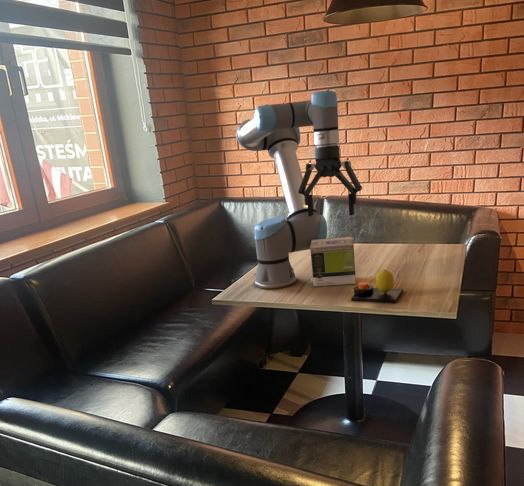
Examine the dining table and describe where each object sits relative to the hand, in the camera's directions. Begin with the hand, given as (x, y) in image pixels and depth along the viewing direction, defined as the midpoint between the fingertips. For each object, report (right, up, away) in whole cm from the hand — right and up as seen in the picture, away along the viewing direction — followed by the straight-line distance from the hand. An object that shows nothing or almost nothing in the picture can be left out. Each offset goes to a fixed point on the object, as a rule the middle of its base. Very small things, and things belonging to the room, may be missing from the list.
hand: (331, 215), depth 170 cm
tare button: (+11, -23, +4) cm, 26 cm away
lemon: (+18, -25, +2) cm, 31 cm away
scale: (+15, -26, +3) cm, 30 cm away
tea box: (+4, -19, +23) cm, 30 cm away
